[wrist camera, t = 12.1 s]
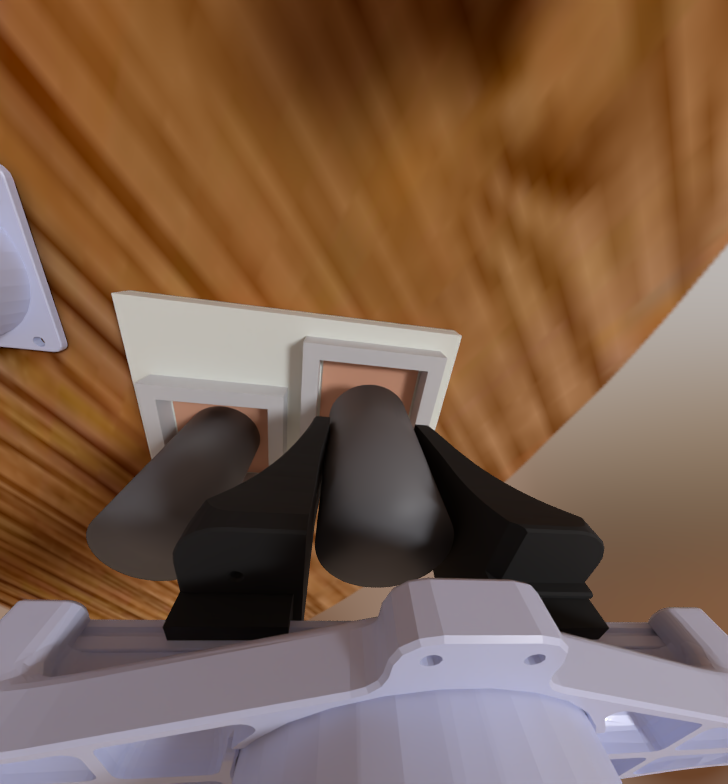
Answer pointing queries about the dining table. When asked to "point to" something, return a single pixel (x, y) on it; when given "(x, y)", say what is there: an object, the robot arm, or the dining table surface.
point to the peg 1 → (173, 493)
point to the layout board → (271, 365)
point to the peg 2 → (378, 495)
